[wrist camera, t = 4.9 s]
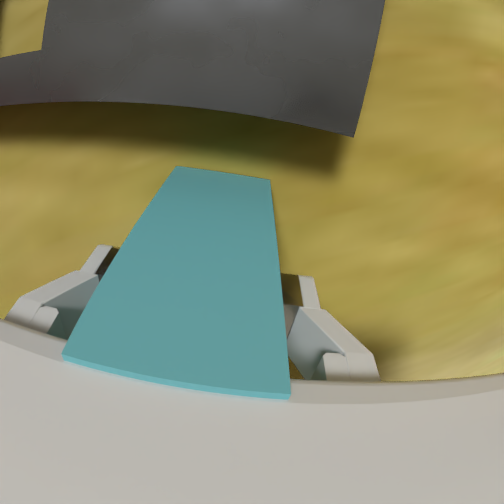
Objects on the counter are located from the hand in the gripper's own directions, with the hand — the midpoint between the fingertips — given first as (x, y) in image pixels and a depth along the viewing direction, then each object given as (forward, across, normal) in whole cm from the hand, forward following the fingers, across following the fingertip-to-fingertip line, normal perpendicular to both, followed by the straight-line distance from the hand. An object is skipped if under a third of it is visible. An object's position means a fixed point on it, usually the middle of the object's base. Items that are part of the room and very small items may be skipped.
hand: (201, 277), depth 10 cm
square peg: (+5, 0, 0) cm, 5 cm away
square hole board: (+5, +9, -10) cm, 14 cm away
